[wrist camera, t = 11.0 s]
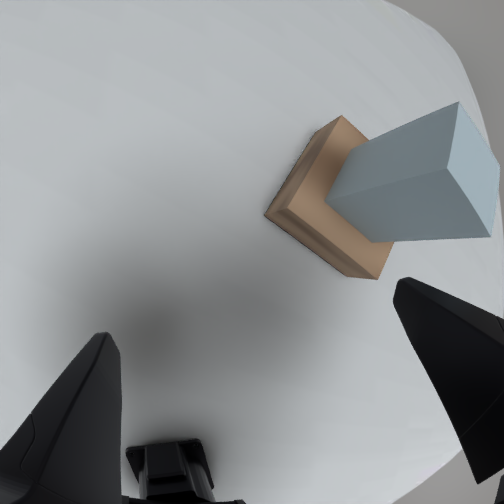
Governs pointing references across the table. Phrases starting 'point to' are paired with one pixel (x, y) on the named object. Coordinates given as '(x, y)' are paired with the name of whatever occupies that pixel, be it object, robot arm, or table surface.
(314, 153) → the tan flat square block
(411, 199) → the slate block
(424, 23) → the table surface
